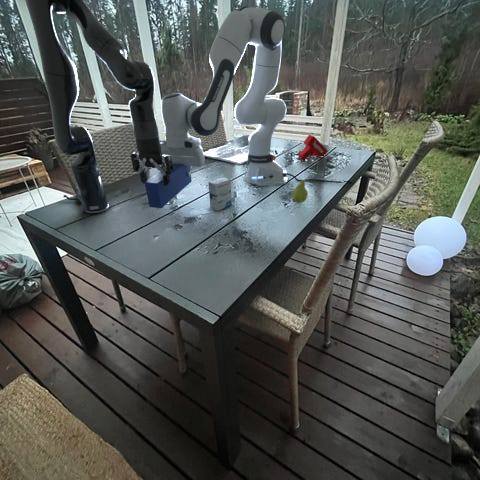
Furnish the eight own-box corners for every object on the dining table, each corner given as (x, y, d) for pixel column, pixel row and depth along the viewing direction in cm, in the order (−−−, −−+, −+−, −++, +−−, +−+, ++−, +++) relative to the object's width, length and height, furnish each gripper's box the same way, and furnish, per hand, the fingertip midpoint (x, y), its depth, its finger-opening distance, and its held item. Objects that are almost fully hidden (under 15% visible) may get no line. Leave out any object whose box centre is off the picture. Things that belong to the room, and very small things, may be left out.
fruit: (288, 200, 123) (290, 174, 116) (302, 197, 125) (305, 172, 119) (296, 206, 118) (299, 179, 111) (310, 203, 120) (314, 177, 114)
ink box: (224, 201, 122) (223, 176, 116) (231, 205, 119) (231, 179, 113) (209, 207, 117) (207, 181, 111) (217, 211, 114) (215, 184, 108)
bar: (181, 180, 119) (178, 159, 114) (191, 181, 118) (189, 160, 113) (149, 207, 97) (144, 182, 91) (161, 208, 96) (157, 183, 90)
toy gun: (299, 156, 169) (313, 135, 166) (294, 155, 172) (308, 134, 169) (314, 170, 180) (328, 150, 177) (310, 169, 183) (323, 149, 180)
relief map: (240, 164, 168) (240, 156, 165) (199, 155, 186) (198, 147, 183) (263, 154, 186) (264, 146, 184) (224, 147, 204) (224, 140, 201)
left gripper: (120, 137, 85) (132, 186, 94) (160, 139, 82) (169, 189, 90) (134, 132, 91) (144, 178, 100) (172, 134, 88) (179, 182, 97)
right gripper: (149, 141, 105) (155, 175, 113) (198, 144, 101) (201, 179, 108) (157, 137, 110) (162, 171, 118) (204, 140, 106) (207, 174, 113)
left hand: (156, 184), depth 95 cm, fingers open, 8 cm apart
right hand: (182, 175), depth 113 cm, fingers closed on bar, 5 cm apart
